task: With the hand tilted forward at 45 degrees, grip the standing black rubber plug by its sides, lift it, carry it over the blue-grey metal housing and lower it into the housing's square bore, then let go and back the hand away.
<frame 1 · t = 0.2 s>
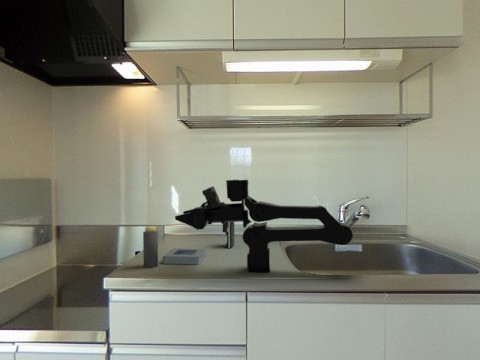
hand: (179, 215, 108), 16 cm above the worktop, tool horizontal, fingers open, 9 cm apart
battery charger: (228, 247, 139), on the worktop
housing: (185, 259, 118), on the worktop
plug: (150, 266, 110), on the worktop
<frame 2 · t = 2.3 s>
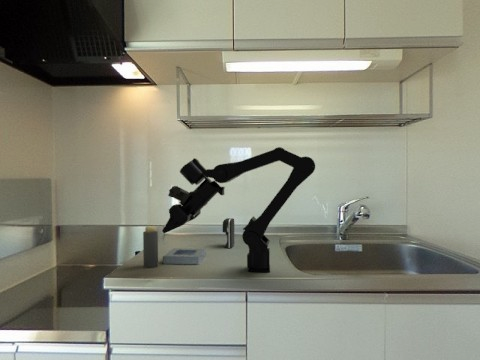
hand: (168, 229, 109), 12 cm above the worktop, tool tilted 45°, fingers open, 9 cm apart
nothing on the worktop moved.
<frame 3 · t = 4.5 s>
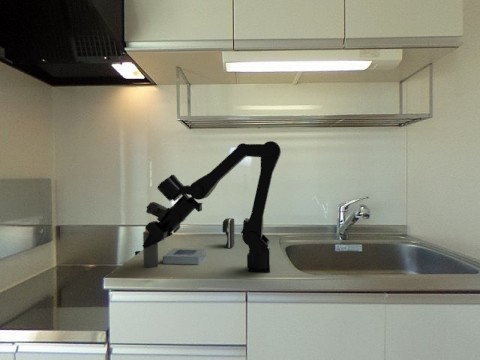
hand: (146, 245, 110), 7 cm above the worktop, tool tilted 45°, fingers closed on plug, 4 cm apart
plug: (150, 265, 110), on the worktop, touching gripper
everything else where it was.
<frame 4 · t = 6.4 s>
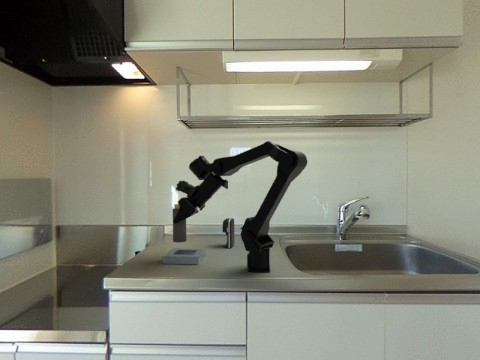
hand: (175, 221, 116), 13 cm above the worktop, tool tilted 45°, fingers closed on plug, 4 cm apart
plug: (179, 241, 116), point 7 cm above the worktop, touching gripper
everything else where it was.
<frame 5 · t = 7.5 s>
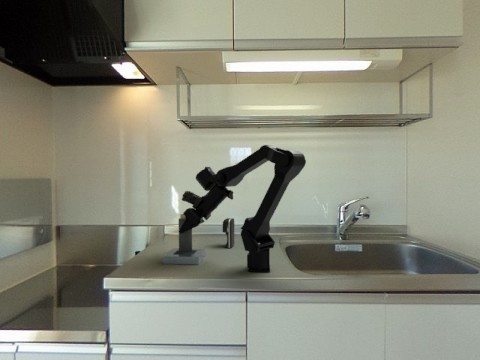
hand: (181, 231, 118), 10 cm above the worktop, tool tilted 45°, fingers closed on plug, 4 cm apart
plug: (185, 250, 118), point 3 cm above the worktop, touching gripper
everything else where it was.
when the fingers open (8 cm above the worktop, at t = 8.3 s): plug drops 1 cm, resting in housing.
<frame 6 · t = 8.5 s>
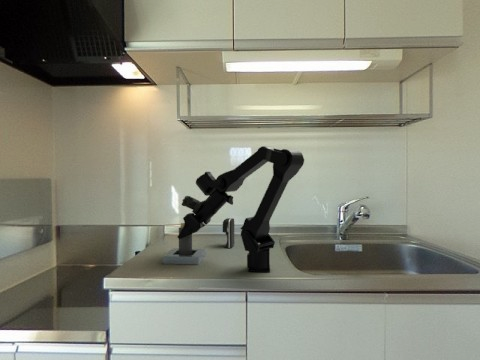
hand: (181, 236, 118), 8 cm above the worktop, tool tilted 45°, fingers open, 7 cm apart
plug: (185, 259, 118), resting in housing
everything else where it was.
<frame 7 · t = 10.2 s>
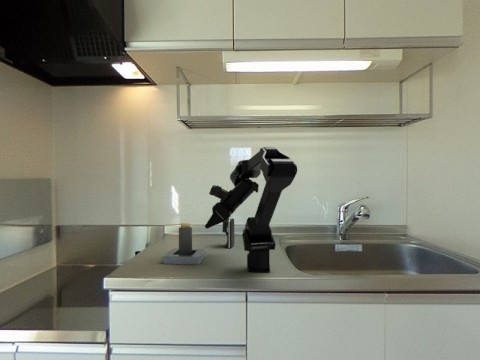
hand: (208, 225, 119), 12 cm above the worktop, tool tilted 45°, fingers open, 9 cm apart
nothing on the worktop moved.
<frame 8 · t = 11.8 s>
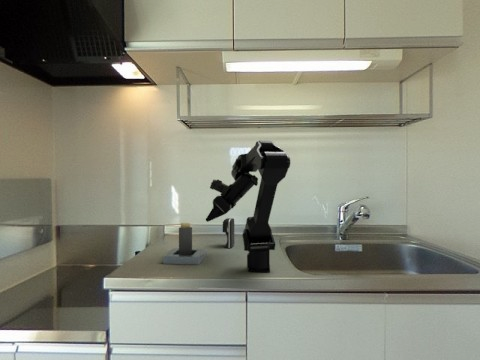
hand: (209, 219, 121), 14 cm above the worktop, tool tilted 45°, fingers open, 9 cm apart
nothing on the worktop moved.
at the end: plug 0.1 cm from the housing (horizontally); plug resting in housing; plug tilted 0° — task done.
